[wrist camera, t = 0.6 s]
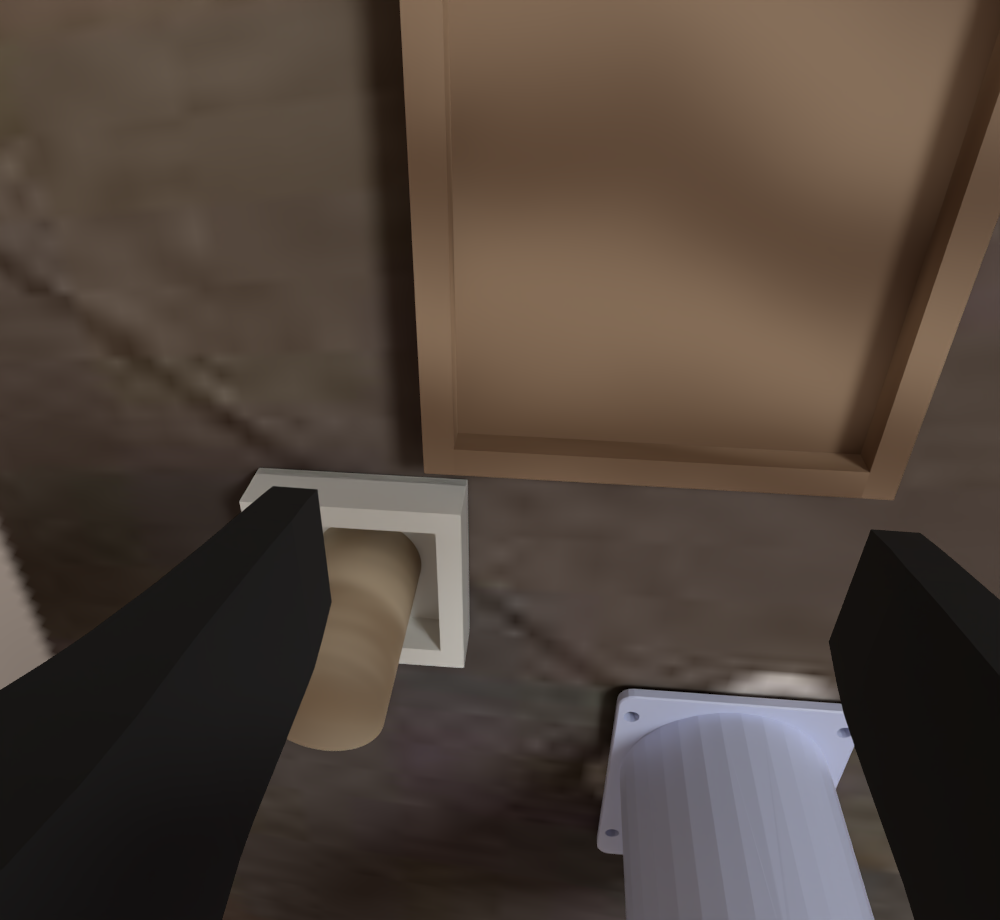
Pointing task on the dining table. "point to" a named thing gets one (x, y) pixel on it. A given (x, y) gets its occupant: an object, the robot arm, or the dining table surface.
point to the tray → (694, 233)
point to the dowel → (358, 638)
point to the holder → (425, 521)
